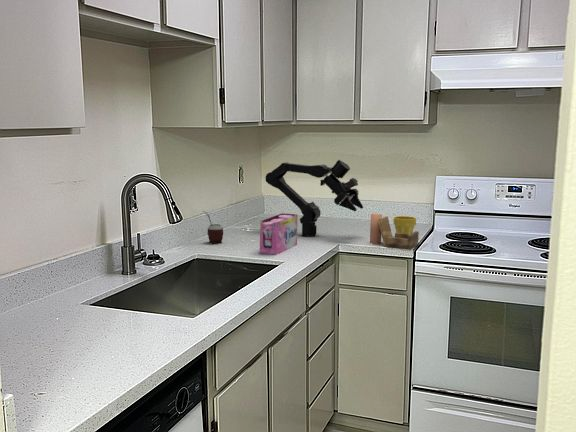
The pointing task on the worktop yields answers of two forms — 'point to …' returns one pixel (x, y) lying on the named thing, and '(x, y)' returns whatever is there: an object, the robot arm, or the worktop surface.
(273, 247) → the gum box
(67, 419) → the worktop surface
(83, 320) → the worktop surface
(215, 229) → the mate gourd
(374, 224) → the post
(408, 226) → the plant pot
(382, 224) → the brown wooden flat block
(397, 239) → the open wooden box
